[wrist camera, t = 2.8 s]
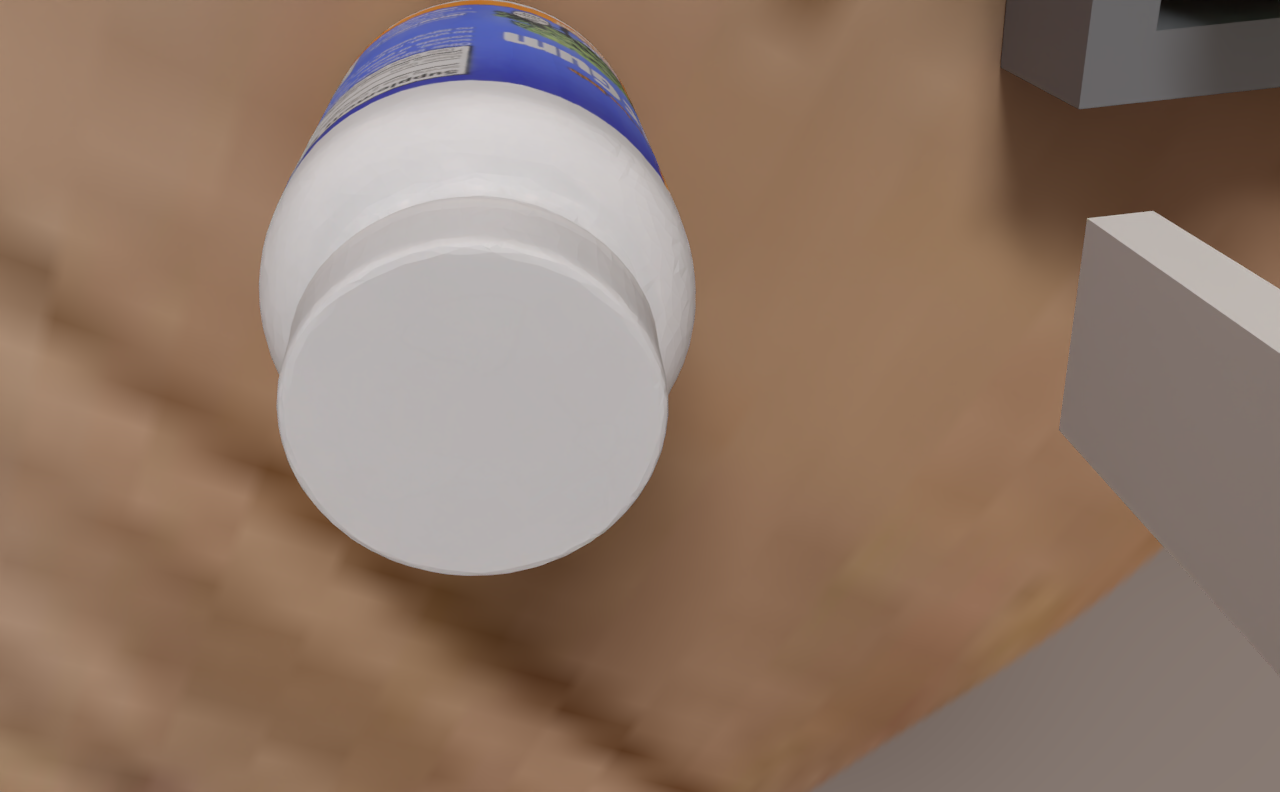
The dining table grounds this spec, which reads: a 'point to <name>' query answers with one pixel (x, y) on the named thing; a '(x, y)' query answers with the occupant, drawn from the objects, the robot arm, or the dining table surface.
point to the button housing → (1142, 48)
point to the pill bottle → (476, 295)
